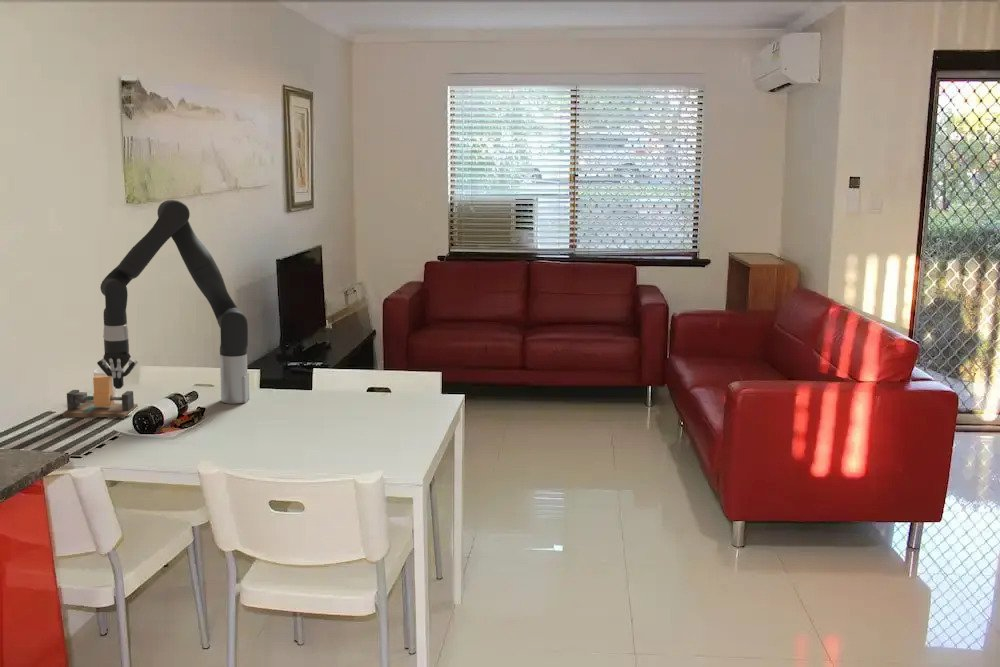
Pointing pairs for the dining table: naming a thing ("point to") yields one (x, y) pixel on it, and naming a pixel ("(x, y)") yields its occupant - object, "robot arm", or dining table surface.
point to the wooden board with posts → (83, 409)
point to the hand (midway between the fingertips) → (118, 388)
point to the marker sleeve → (103, 390)
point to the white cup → (101, 372)
